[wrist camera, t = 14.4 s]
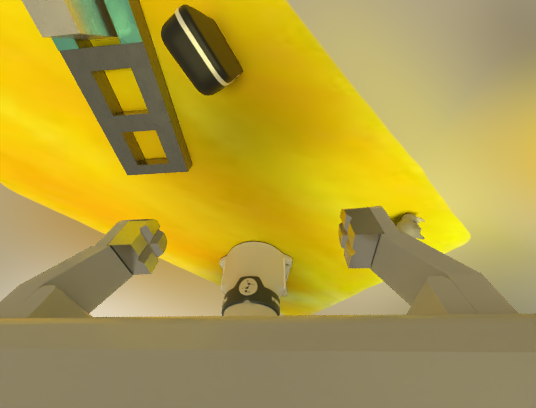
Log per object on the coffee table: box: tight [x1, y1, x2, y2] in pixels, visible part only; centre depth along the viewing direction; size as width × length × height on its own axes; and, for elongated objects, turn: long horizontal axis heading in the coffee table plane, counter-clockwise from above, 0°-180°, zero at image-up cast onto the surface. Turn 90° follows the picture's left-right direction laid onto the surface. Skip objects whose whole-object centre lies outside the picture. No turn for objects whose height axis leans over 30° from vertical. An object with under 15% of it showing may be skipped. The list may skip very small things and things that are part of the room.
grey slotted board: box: [52, 0, 192, 175], centre depth 30 cm, size 25×11×3 cm, turn 4°
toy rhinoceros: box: [396, 214, 425, 239], centre depth 42 cm, size 7×12×8 cm, turn 124°
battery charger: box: [161, 5, 243, 95], centre depth 23 cm, size 7×4×11 cm, turn 32°
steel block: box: [22, 0, 119, 40], centre depth 23 cm, size 4×4×8 cm
